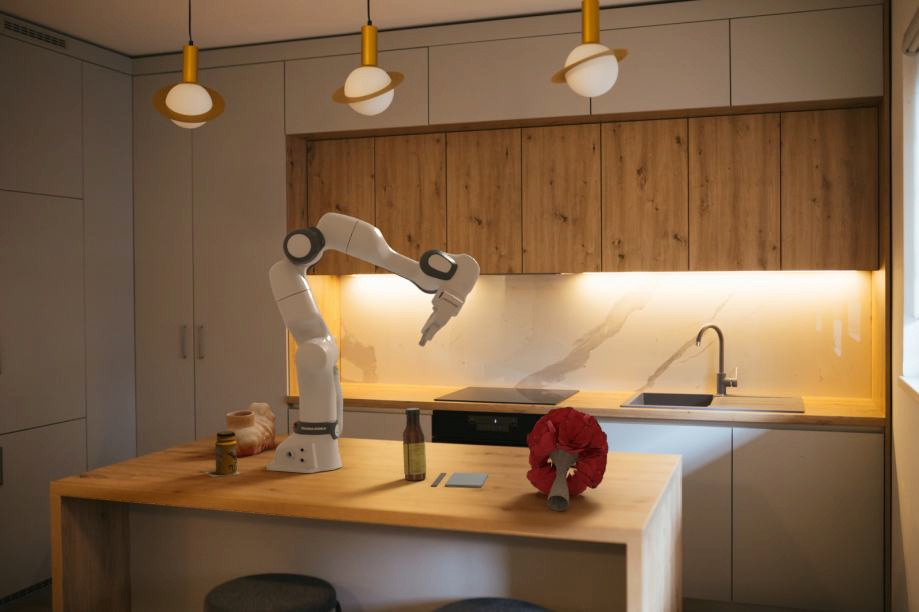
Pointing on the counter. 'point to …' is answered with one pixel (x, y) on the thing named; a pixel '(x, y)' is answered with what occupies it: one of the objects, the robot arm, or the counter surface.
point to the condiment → (225, 455)
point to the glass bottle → (338, 399)
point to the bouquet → (566, 455)
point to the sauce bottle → (414, 447)
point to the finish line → (438, 479)
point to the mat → (467, 480)
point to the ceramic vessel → (252, 429)
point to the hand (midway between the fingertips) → (424, 342)
